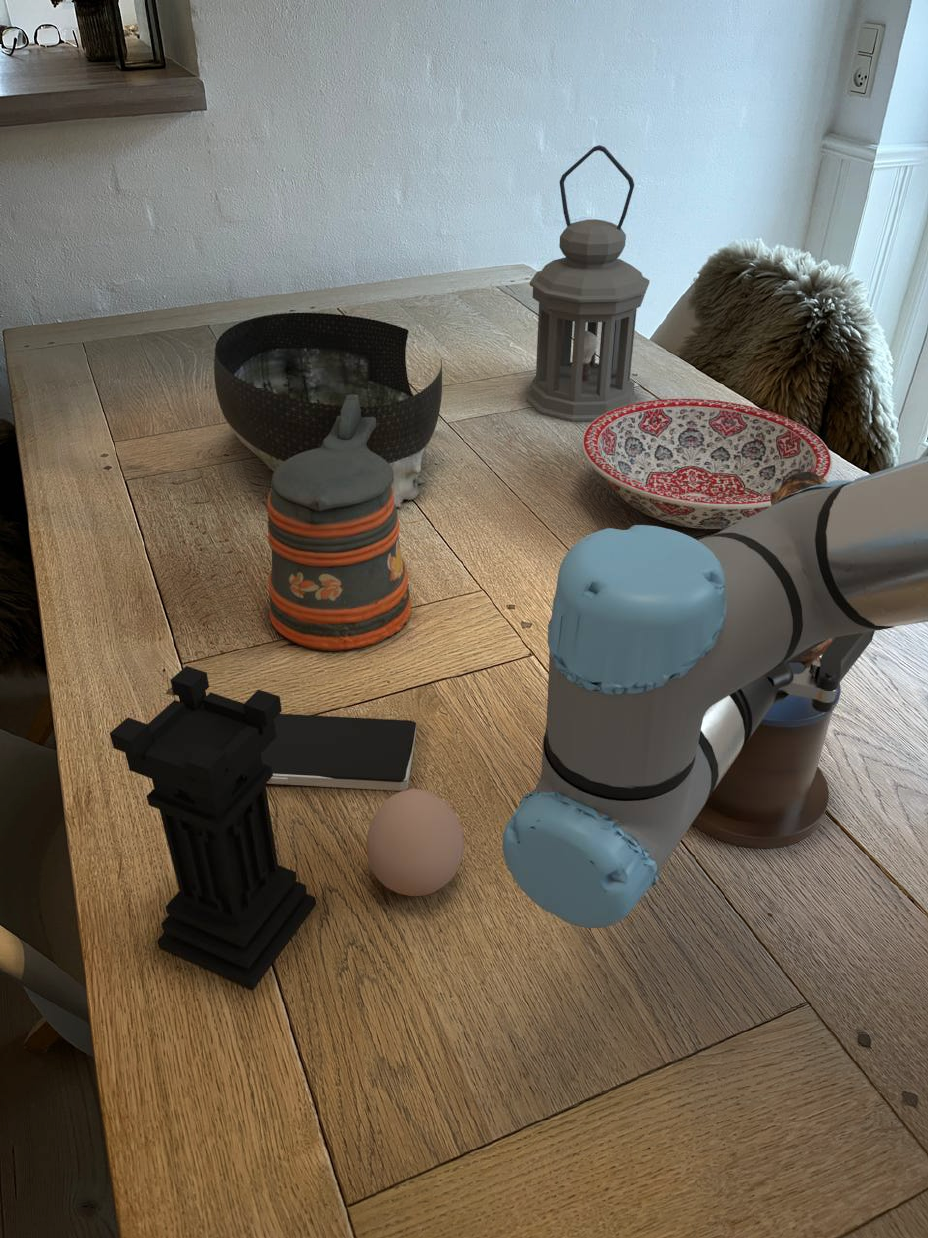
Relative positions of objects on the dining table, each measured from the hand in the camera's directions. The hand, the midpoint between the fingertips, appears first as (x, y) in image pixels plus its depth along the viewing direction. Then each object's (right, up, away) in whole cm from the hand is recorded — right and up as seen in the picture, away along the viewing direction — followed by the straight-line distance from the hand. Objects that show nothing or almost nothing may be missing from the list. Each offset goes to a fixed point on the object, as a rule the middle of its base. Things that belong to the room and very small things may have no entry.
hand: (815, 546), depth 75 cm
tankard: (-39, -4, +32) cm, 51 cm away
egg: (-30, -25, +1) cm, 39 cm away
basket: (-44, +15, +58) cm, 74 cm away
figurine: (-3, -9, +1) cm, 9 cm away
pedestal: (-3, -20, +9) cm, 22 cm away
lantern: (-9, +27, +76) cm, 81 cm away
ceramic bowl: (+2, +8, +49) cm, 50 cm away
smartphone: (-38, -17, +12) cm, 44 cm away
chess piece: (-43, -28, -2) cm, 51 cm away
